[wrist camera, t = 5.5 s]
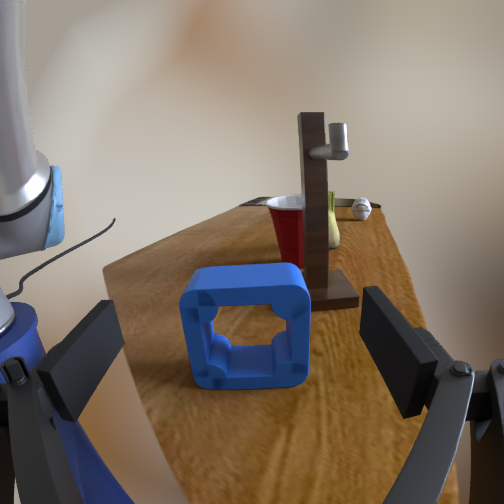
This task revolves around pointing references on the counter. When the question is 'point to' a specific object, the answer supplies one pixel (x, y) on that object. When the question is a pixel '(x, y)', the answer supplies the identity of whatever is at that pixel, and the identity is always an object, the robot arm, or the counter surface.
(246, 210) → the counter surface
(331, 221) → the fennel bulb
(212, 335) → the blue rounded square frame
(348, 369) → the counter surface
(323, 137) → the hook stand
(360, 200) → the white lumpy ball
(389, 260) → the counter surface
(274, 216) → the plastic cup
